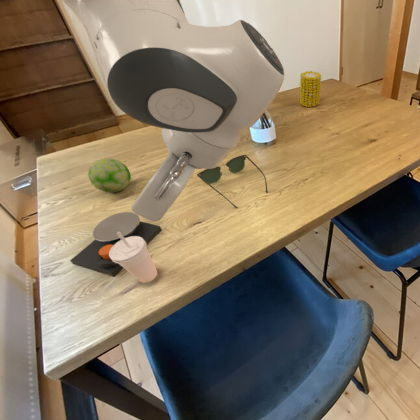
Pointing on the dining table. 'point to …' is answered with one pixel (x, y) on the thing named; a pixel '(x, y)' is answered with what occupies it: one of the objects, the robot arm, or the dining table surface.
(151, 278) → the smoothie
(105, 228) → the scale pan
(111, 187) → the decorative ball
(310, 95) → the food
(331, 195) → the dining table surface
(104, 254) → the tare button
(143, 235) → the scale
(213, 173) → the sunglasses
